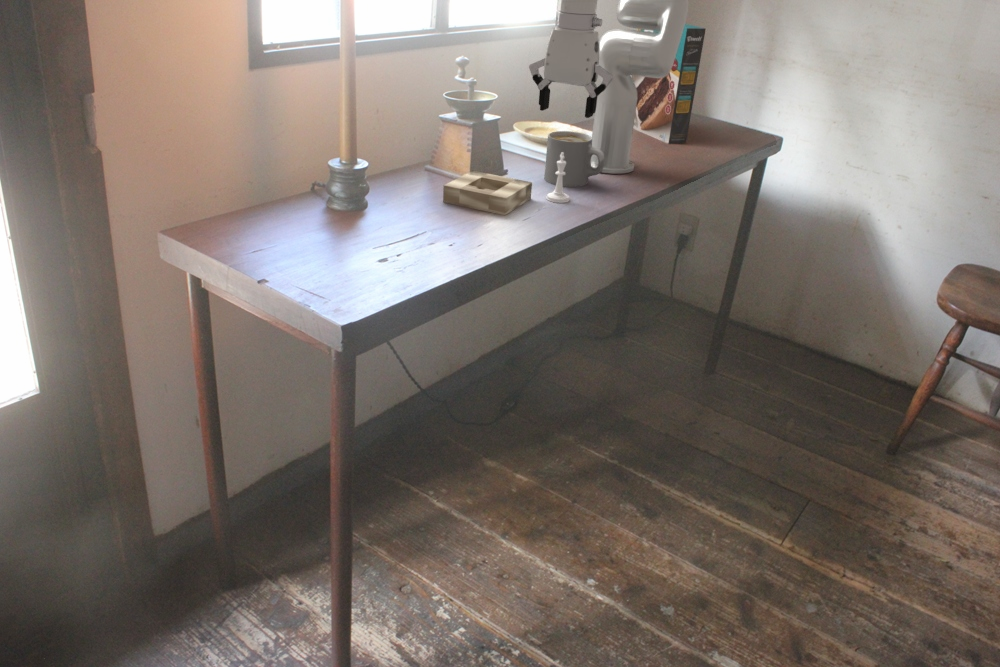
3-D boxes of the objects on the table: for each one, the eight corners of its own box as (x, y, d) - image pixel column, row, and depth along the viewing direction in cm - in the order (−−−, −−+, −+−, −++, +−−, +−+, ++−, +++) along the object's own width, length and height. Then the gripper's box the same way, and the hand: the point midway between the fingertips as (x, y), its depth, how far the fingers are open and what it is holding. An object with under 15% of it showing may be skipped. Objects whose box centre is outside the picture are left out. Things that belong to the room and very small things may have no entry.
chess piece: (550, 203, 165) (555, 156, 160) (543, 195, 169) (547, 149, 164) (572, 202, 166) (577, 155, 162) (564, 195, 170) (569, 149, 166)
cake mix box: (625, 125, 235) (639, 17, 221) (642, 124, 237) (657, 17, 223) (668, 143, 218) (687, 28, 204) (686, 142, 220) (705, 28, 206)
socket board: (471, 186, 172) (472, 170, 170) (530, 198, 167) (532, 182, 165) (443, 201, 161) (443, 185, 160) (505, 215, 156) (506, 198, 155)
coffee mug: (535, 179, 180) (539, 135, 175) (559, 171, 187) (563, 128, 182) (585, 193, 173) (591, 147, 168) (608, 184, 180) (614, 140, 175)
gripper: (624, 26, 151) (612, 116, 159) (541, 16, 157) (534, 103, 165) (612, 29, 145) (601, 123, 153) (526, 19, 151) (519, 109, 159)
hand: (566, 113), depth 159 cm, fingers open, 9 cm apart
